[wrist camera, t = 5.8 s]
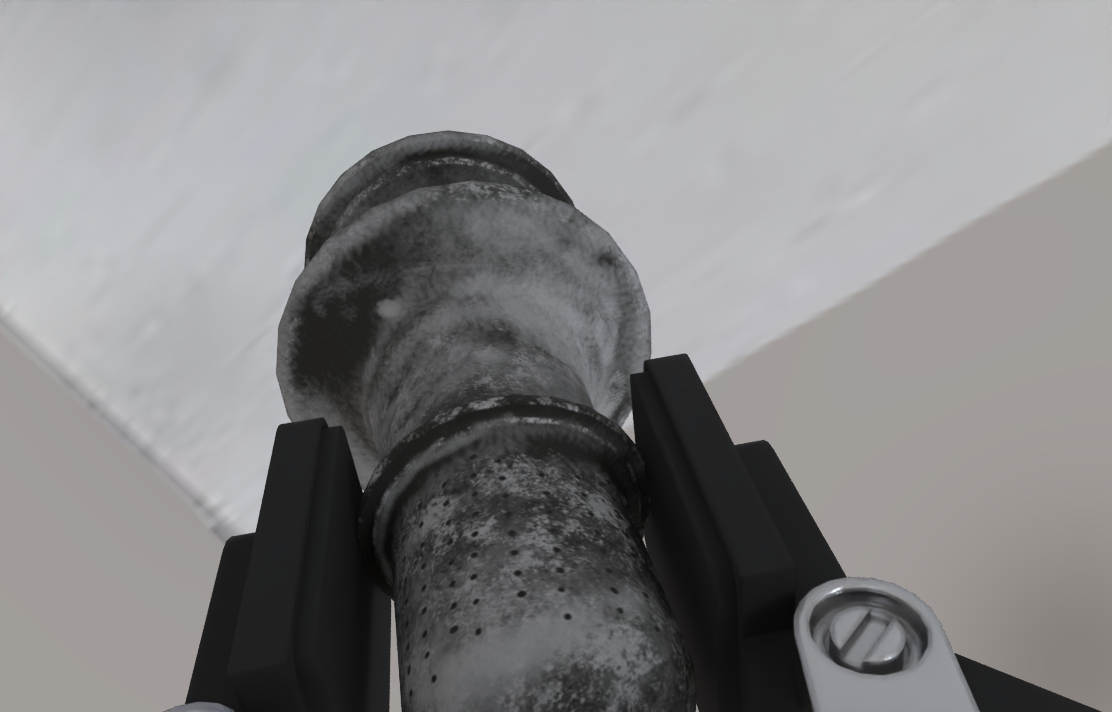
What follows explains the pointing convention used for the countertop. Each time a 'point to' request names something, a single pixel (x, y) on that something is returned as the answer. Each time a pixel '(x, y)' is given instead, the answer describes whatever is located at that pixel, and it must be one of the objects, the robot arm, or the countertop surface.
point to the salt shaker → (488, 428)
